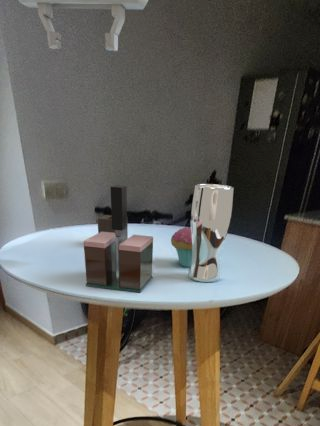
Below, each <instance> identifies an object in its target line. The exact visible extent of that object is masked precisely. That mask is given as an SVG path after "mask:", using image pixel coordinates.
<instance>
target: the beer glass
mask: <svg viewBox="0 0 320 426" xmlns="http://www.w3.org/2000/svg"><path fill="white" fill-rule="evenodd" d="M234 189H235V187H234V186H232V185H226V184H215V183H196V184H195V185H194V191H193V194H192V195H193V196H192V202H191V210H190V227H191V240H192V260H191V265H190V267H189V269H188V273H187V277H188V278H189V279H190V280H192V281H195V282H200V283H215V282H218V281H219V280H220V278H221V257H222V253H223V249H224V247H225V242H226V239H227V237H228V233H229V228H230V225H231V219H232V212H233V202H234Z"/></svg>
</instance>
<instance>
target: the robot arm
mask: <svg viewBox="0 0 320 426" xmlns="http://www.w3.org/2000/svg"><path fill="white" fill-rule="evenodd" d="M17 1H18V2H19V3H20V4H21V5H23V6H25V7H27V8H29V9H37V12H38V13H37V15H38V17H39V19H40V21H41V23H42V25H43V27H44V29H45V31H46V34H47V37H46V38H47V46H48V48H50V49H52V50H62V43H61V42H62V35H61V33H59V32H57V31H56V30H55V28H54V25H53V23H52V21H51V19H53V18H54V12H53V11H54V10H53V9H77V10H78V9H79V10H81V9H82V10H85V9H86V10H111V16H112V17H113V18H114V20H113V23H112V25H111V28H110V31H109V32H104V39H105V43H104V44H105V45H104V46H105V50H106V51H108V52H118V50H119V36H120V33H121V31H122V28H123V26H124V23H125V20H126V10H139V11H140V10H141V11H143V10H144V9H145V8H146V6H147V4H148V2H149V0H17Z"/></svg>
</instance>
